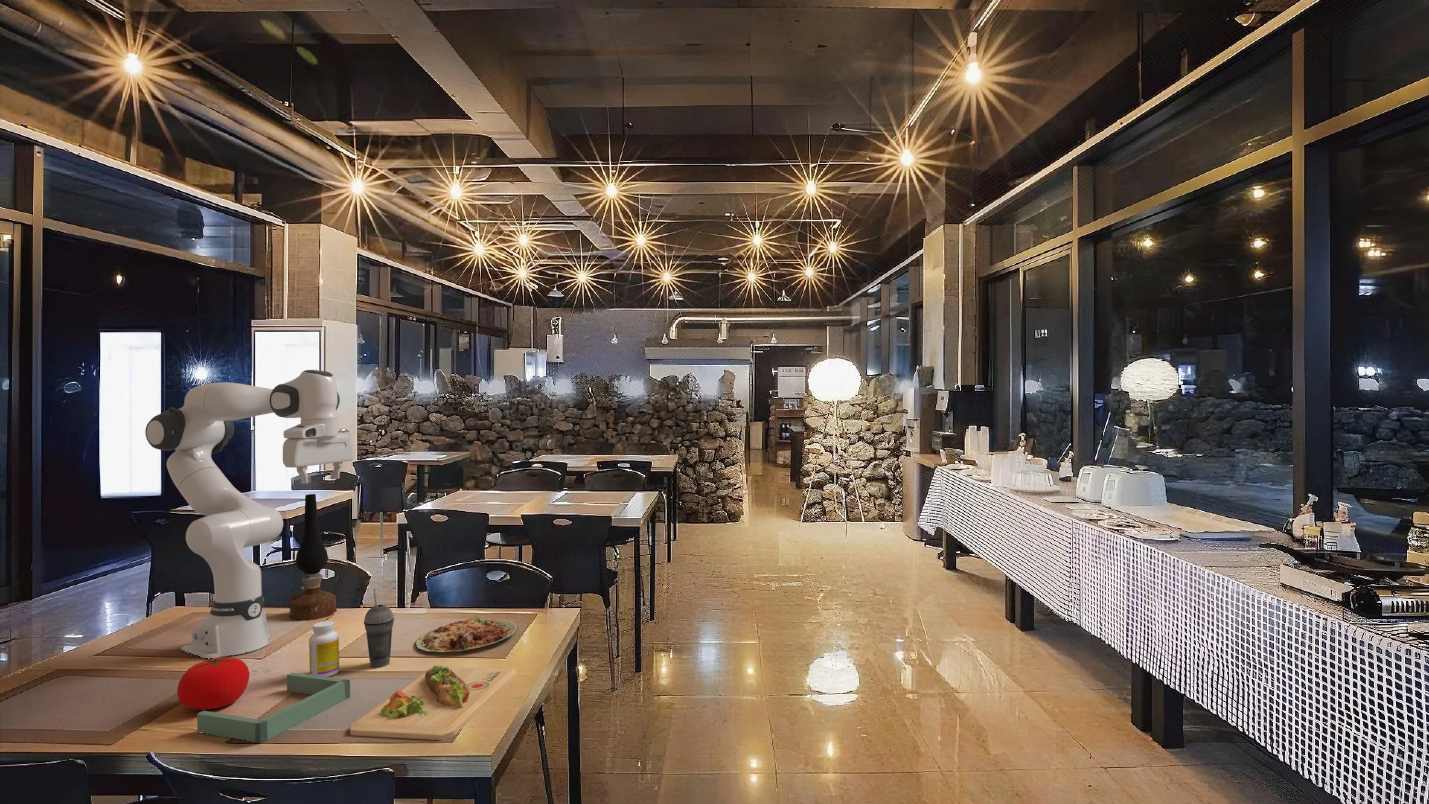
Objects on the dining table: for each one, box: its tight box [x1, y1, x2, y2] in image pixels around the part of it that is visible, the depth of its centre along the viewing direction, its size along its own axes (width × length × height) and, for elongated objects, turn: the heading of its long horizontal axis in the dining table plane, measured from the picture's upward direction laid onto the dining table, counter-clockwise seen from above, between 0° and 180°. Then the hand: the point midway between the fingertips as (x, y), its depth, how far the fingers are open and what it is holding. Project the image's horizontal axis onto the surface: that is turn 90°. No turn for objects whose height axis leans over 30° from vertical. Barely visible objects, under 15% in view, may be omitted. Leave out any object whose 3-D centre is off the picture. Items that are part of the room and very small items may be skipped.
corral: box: [196, 672, 351, 744], centre depth 157 cm, size 18×23×4 cm
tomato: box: [176, 656, 250, 711], centre depth 163 cm, size 14×13×10 cm
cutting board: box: [349, 665, 518, 741], centre depth 163 cm, size 35×23×8 cm
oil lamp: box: [288, 493, 338, 621], centre depth 233 cm, size 14×15×40 cm
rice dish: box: [414, 616, 519, 653], centre depth 205 cm, size 28×28×5 cm
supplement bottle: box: [308, 620, 340, 677], centre depth 180 cm, size 7×7×13 cm
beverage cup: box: [363, 588, 395, 669], centre depth 186 cm, size 7×7×20 cm
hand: (320, 481), depth 191 cm, fingers open, 8 cm apart
